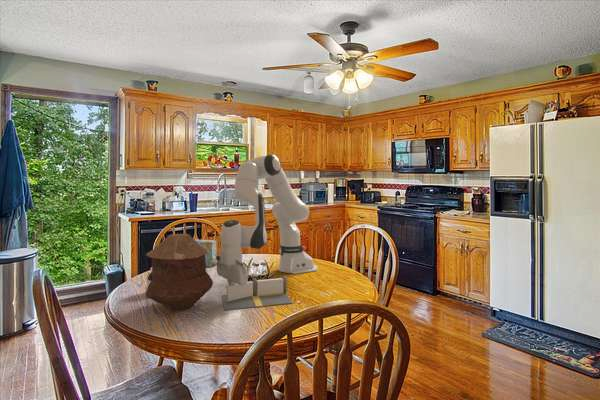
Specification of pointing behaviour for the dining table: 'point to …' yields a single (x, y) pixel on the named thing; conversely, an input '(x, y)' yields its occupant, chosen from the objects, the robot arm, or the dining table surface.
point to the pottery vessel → (178, 273)
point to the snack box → (209, 251)
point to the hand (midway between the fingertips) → (232, 289)
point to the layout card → (256, 301)
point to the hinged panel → (239, 291)
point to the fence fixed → (269, 286)
